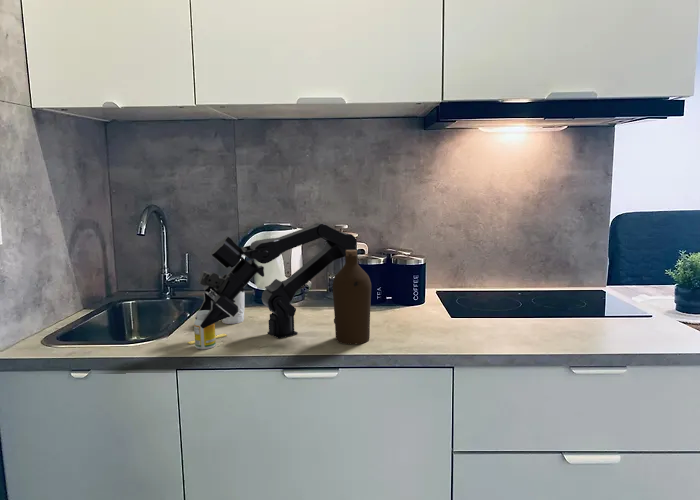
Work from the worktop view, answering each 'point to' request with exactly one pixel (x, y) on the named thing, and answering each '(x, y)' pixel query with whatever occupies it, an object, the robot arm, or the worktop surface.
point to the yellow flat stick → (215, 338)
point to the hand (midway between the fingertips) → (198, 323)
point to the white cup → (240, 314)
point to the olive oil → (352, 302)
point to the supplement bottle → (203, 332)
